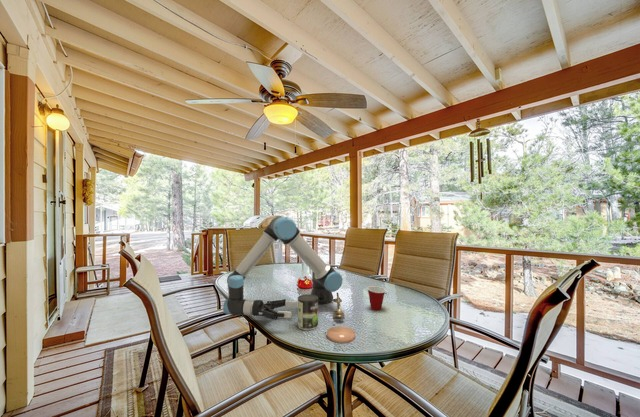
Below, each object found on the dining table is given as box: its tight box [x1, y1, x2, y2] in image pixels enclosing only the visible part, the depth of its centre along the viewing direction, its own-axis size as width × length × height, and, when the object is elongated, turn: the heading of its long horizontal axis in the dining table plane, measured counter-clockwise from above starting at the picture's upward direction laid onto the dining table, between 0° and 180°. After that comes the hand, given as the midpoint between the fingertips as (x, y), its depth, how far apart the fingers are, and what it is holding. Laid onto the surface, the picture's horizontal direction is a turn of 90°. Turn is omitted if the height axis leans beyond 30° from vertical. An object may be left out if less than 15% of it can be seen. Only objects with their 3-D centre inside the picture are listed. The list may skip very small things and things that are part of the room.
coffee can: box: [297, 293, 319, 331], centre depth 130 cm, size 10×10×14 cm
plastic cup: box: [366, 285, 387, 312], centre depth 152 cm, size 11×11×12 cm
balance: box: [332, 292, 345, 320], centre depth 141 cm, size 17×6×11 cm, turn 1°
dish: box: [326, 325, 356, 344], centre depth 120 cm, size 13×13×2 cm
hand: (294, 309), depth 131 cm, fingers open, 13 cm apart
